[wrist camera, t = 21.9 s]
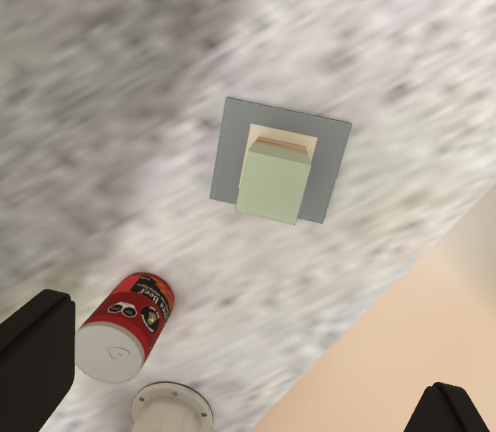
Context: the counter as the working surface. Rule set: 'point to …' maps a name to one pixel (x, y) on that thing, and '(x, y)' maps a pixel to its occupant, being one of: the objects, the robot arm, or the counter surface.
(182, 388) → the robot arm
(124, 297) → the canned food
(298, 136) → the build board
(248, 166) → the sage block
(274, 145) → the oak block
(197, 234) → the counter surface
